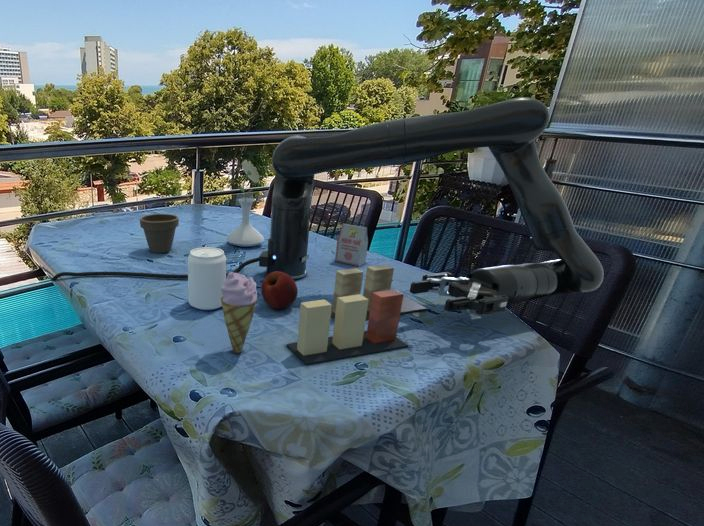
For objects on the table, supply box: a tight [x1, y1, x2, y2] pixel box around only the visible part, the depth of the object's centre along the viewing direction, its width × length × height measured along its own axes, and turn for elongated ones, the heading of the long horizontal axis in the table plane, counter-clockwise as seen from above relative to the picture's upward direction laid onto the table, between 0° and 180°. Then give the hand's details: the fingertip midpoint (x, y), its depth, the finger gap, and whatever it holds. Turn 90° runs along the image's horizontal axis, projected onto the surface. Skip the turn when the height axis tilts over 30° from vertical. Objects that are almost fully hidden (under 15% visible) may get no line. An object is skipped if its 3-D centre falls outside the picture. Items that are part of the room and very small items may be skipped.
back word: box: [331, 264, 428, 320], centre depth 95 cm, size 20×7×9 cm, turn 105°
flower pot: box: [139, 213, 180, 254], centre depth 138 cm, size 12×11×10 cm
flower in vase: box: [226, 159, 265, 248], centre depth 139 cm, size 13×11×25 cm
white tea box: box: [334, 223, 369, 267], centre depth 123 cm, size 4×7×10 cm, turn 44°
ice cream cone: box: [221, 271, 258, 354], centre depth 80 cm, size 7×6×15 cm
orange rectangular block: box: [366, 289, 404, 344], centre depth 83 cm, size 4×2×9 cm, turn 105°
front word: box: [286, 293, 409, 366], centre depth 81 cm, size 20×7×9 cm, turn 105°
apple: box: [260, 271, 298, 310], centre depth 98 cm, size 7×8×8 cm
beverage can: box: [187, 246, 227, 311], centre depth 100 cm, size 8×8×12 cm
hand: (428, 296), depth 84 cm, fingers open, 8 cm apart
